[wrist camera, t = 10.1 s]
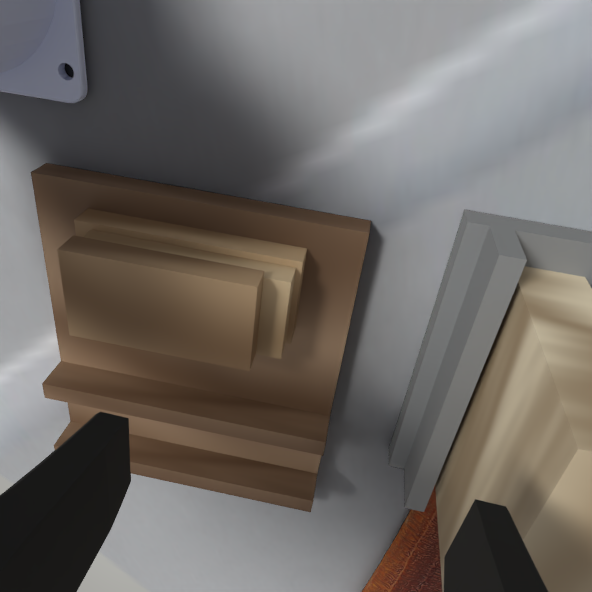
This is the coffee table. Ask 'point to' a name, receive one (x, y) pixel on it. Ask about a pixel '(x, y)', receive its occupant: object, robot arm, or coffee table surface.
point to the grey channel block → (471, 332)
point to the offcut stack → (180, 289)
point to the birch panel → (532, 431)
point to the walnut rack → (200, 375)
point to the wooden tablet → (412, 556)
